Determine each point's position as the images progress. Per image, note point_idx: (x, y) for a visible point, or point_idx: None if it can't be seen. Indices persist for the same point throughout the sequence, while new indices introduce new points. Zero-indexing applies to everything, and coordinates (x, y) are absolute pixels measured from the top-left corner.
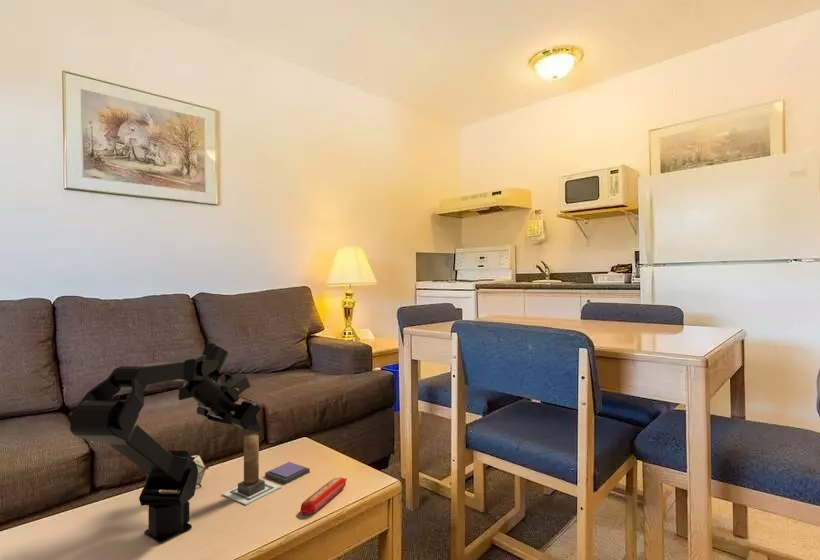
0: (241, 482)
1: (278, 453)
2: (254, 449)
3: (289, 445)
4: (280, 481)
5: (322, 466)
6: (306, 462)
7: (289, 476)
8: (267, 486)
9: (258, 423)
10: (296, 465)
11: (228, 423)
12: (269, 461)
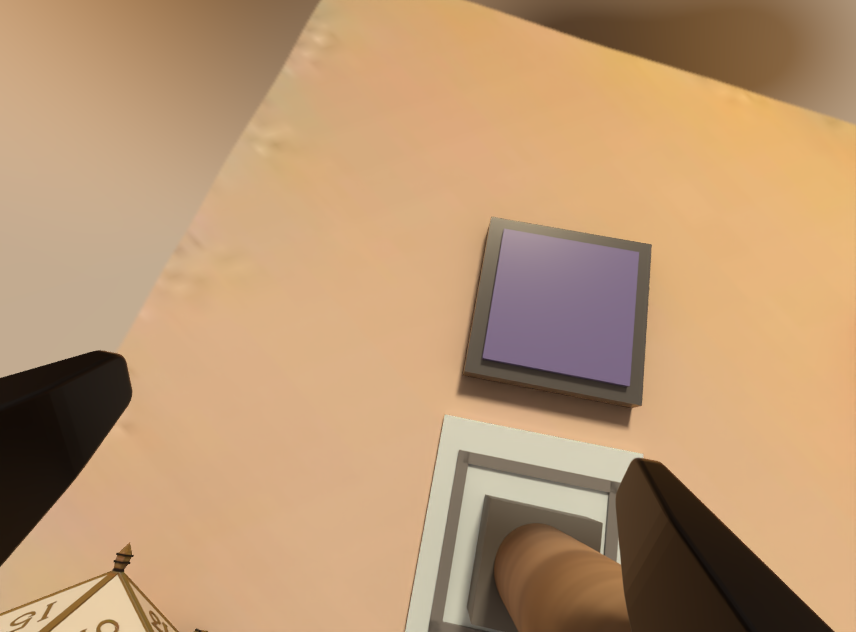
0: (483, 601)
1: (333, 130)
2: None
3: (324, 40)
4: (589, 399)
5: (651, 178)
6: (545, 167)
7: (628, 363)
8: (579, 486)
9: (782, 600)
10: (572, 246)
11: (17, 542)
12: (354, 220)
